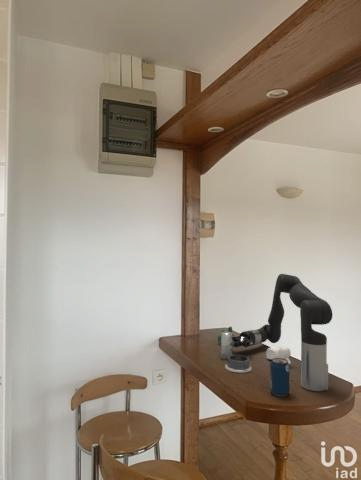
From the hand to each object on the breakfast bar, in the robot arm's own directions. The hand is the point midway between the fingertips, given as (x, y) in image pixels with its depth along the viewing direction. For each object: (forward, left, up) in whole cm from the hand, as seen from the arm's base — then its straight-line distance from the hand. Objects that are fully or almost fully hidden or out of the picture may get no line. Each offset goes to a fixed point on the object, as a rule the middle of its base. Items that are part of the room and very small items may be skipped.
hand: (228, 343), depth 170 cm
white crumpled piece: (-24, +4, -7) cm, 25 cm away
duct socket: (-4, +15, -7) cm, 17 cm away
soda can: (-18, +39, -7) cm, 43 cm away
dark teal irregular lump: (+1, -22, -7) cm, 24 cm away
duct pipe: (+1, +1, -7) cm, 7 cm away
